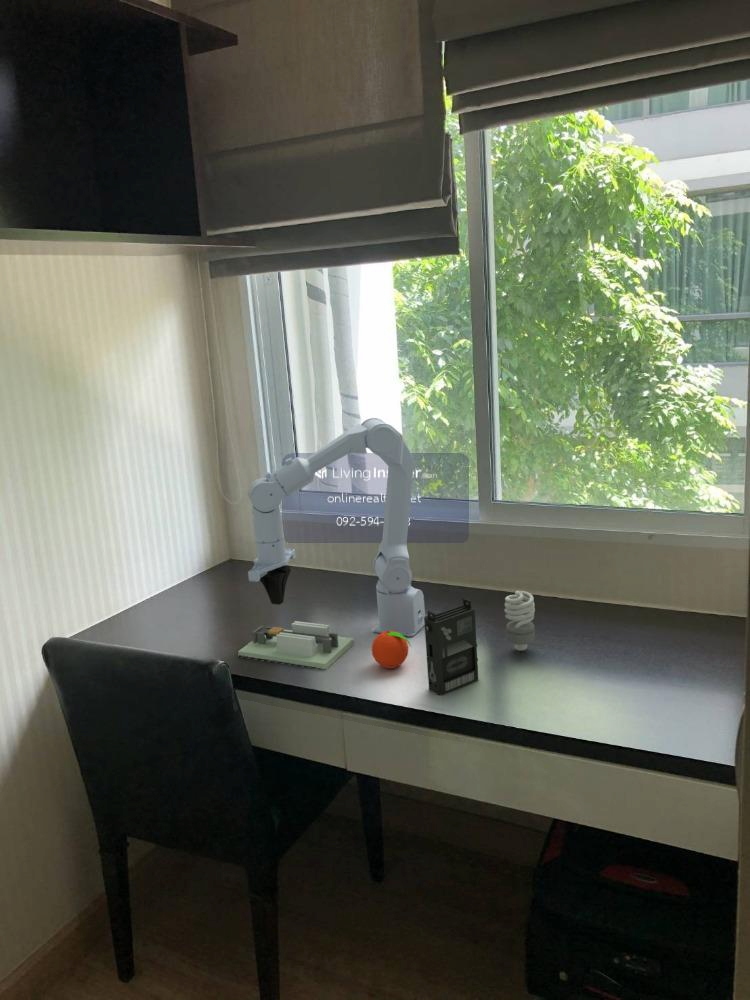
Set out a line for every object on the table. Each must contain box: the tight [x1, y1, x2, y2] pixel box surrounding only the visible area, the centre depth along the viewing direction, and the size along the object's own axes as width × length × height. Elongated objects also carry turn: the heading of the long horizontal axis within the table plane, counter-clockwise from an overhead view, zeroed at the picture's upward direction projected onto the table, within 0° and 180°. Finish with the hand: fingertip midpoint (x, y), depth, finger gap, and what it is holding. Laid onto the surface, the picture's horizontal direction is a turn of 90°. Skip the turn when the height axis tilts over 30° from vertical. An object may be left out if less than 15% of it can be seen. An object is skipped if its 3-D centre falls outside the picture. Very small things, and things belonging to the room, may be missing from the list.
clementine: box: [371, 631, 413, 669], centre depth 151 cm, size 8×7×7 cm
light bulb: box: [504, 590, 536, 652], centre depth 153 cm, size 6×6×12 cm
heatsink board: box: [237, 620, 355, 670], centre depth 162 cm, size 20×12×5 cm, turn 64°
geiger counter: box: [424, 597, 479, 696], centre depth 142 cm, size 10×5×15 cm, turn 123°
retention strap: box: [260, 626, 334, 643], centre depth 161 cm, size 16×2×1 cm, turn 64°
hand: (277, 603), depth 163 cm, fingers closed
